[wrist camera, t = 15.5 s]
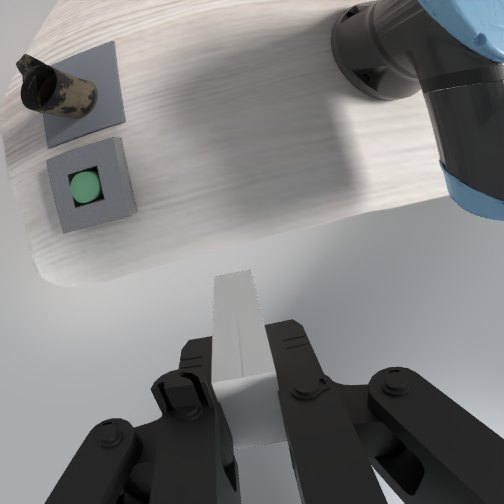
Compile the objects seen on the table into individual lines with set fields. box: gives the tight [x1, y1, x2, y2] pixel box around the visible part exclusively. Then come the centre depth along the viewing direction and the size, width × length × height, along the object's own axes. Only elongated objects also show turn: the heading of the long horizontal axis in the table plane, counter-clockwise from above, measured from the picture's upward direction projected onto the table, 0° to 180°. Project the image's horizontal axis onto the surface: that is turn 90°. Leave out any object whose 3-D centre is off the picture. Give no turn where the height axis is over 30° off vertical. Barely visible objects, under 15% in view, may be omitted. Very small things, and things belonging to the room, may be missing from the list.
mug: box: [16, 54, 98, 119], centre depth 29 cm, size 8×6×12 cm
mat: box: [43, 41, 126, 148], centre depth 35 cm, size 12×12×1 cm
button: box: [70, 170, 103, 203], centre depth 36 cm, size 4×4×3 cm
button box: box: [46, 137, 137, 233], centre depth 37 cm, size 10×10×4 cm
